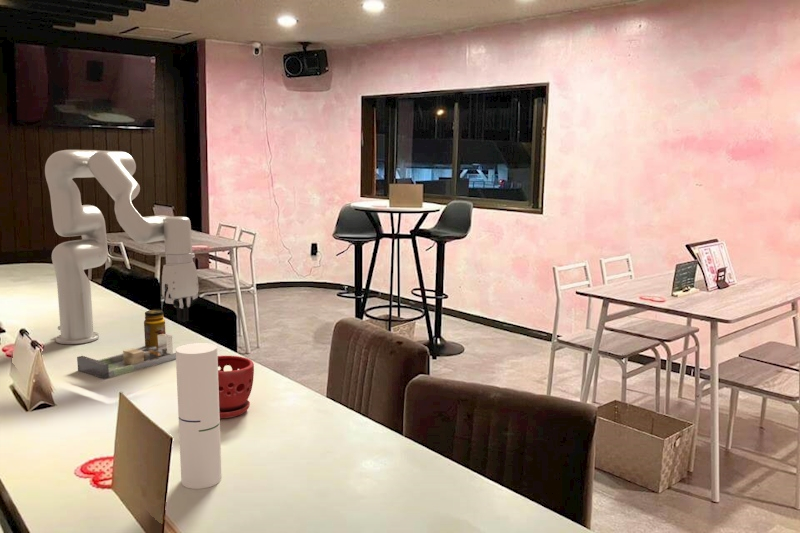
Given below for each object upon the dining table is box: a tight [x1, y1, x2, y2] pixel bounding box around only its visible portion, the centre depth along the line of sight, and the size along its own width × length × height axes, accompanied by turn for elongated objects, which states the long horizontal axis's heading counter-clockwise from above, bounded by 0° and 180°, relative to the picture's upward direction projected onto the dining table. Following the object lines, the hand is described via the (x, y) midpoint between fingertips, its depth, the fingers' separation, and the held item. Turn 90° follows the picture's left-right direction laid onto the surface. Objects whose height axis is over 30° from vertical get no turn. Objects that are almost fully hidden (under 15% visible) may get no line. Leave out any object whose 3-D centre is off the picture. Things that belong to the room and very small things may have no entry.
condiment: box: [143, 309, 166, 349], centre depth 214 cm, size 7×8×12 cm
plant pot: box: [218, 355, 255, 419], centre depth 163 cm, size 13×13×12 cm
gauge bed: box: [76, 346, 176, 380], centre depth 196 cm, size 12×24×5 cm, turn 145°
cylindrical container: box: [175, 342, 223, 490], centre depth 128 cm, size 7×7×25 cm
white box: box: [139, 334, 174, 361], centre depth 201 cm, size 8×9×6 cm
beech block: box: [122, 348, 144, 365], centre depth 196 cm, size 5×3×4 cm, turn 55°
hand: (183, 320), depth 208 cm, fingers closed
